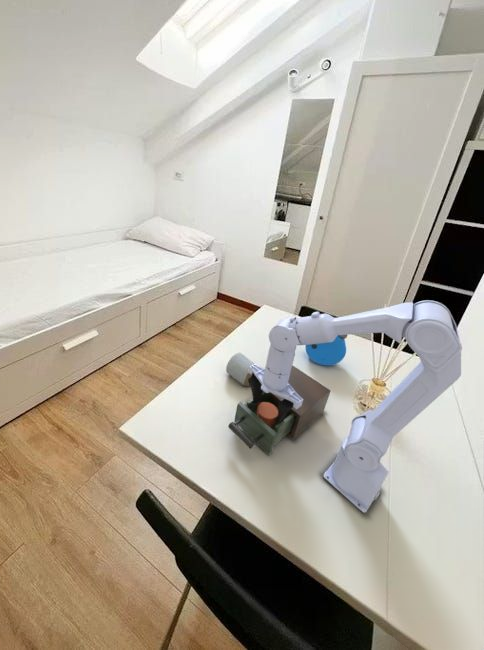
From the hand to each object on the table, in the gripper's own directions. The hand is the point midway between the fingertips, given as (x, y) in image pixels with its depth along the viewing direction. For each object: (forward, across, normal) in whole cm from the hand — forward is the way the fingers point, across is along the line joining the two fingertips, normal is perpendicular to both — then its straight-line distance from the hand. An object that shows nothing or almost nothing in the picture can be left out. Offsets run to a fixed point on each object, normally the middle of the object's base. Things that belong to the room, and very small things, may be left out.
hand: (267, 410), depth 72 cm
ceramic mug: (+7, -17, +10) cm, 21 cm away
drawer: (+6, 0, -1) cm, 6 cm away
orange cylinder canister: (+5, 0, 0) cm, 5 cm away
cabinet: (+7, 0, +12) cm, 13 cm away
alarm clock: (+7, -7, +40) cm, 42 cm away
